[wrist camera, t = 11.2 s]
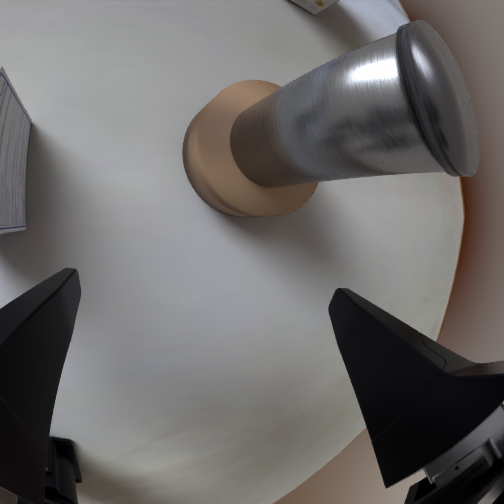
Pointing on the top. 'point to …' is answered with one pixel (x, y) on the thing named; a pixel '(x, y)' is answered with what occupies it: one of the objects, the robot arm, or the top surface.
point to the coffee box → (314, 5)
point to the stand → (222, 162)
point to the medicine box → (12, 157)
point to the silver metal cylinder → (364, 117)
